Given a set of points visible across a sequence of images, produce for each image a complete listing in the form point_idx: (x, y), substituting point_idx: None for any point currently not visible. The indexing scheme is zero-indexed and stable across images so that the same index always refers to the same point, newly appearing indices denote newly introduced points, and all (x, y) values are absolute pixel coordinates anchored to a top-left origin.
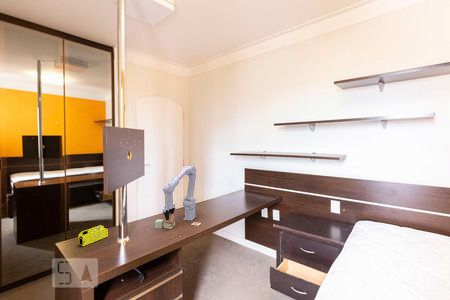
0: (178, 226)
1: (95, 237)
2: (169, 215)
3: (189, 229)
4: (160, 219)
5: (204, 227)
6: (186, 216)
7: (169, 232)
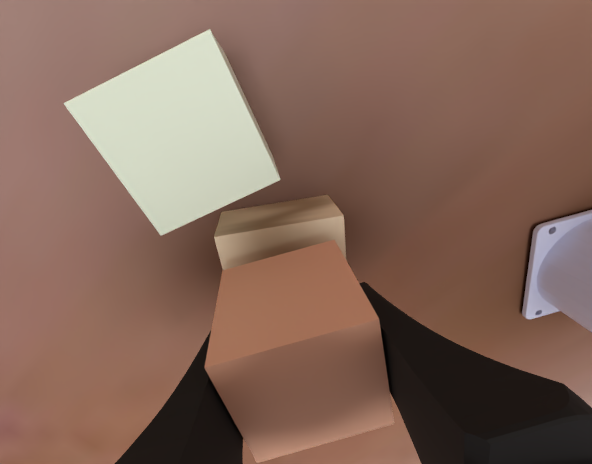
0: None
1: None
2: (268, 428)
3: None
4: (245, 114)
5: (403, 458)
6: (573, 283)
7: (172, 351)
